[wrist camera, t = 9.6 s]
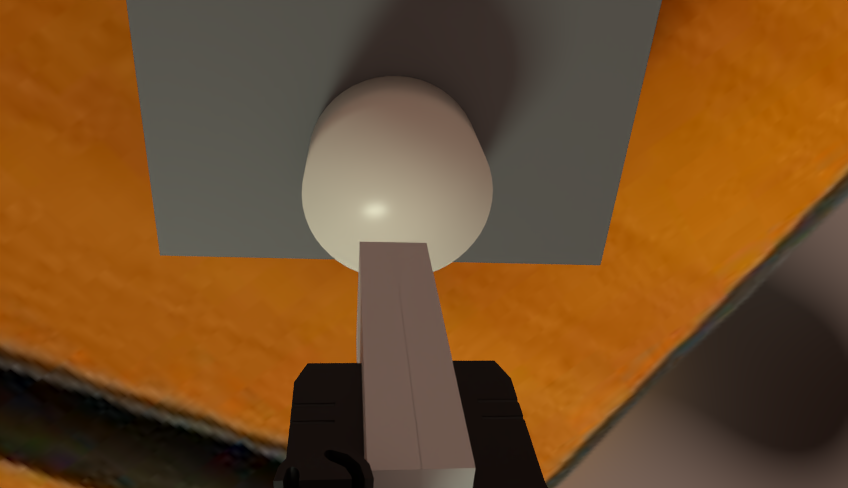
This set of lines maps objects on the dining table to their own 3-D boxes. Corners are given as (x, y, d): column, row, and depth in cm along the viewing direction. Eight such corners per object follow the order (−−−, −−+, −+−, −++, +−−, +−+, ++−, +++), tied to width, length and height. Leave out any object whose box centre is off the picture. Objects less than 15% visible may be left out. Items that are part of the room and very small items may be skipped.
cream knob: (317, 177, 27) (302, 277, 21) (316, 37, 25) (300, 100, 18) (452, 181, 28) (481, 280, 21) (465, 46, 25) (504, 109, 19)
